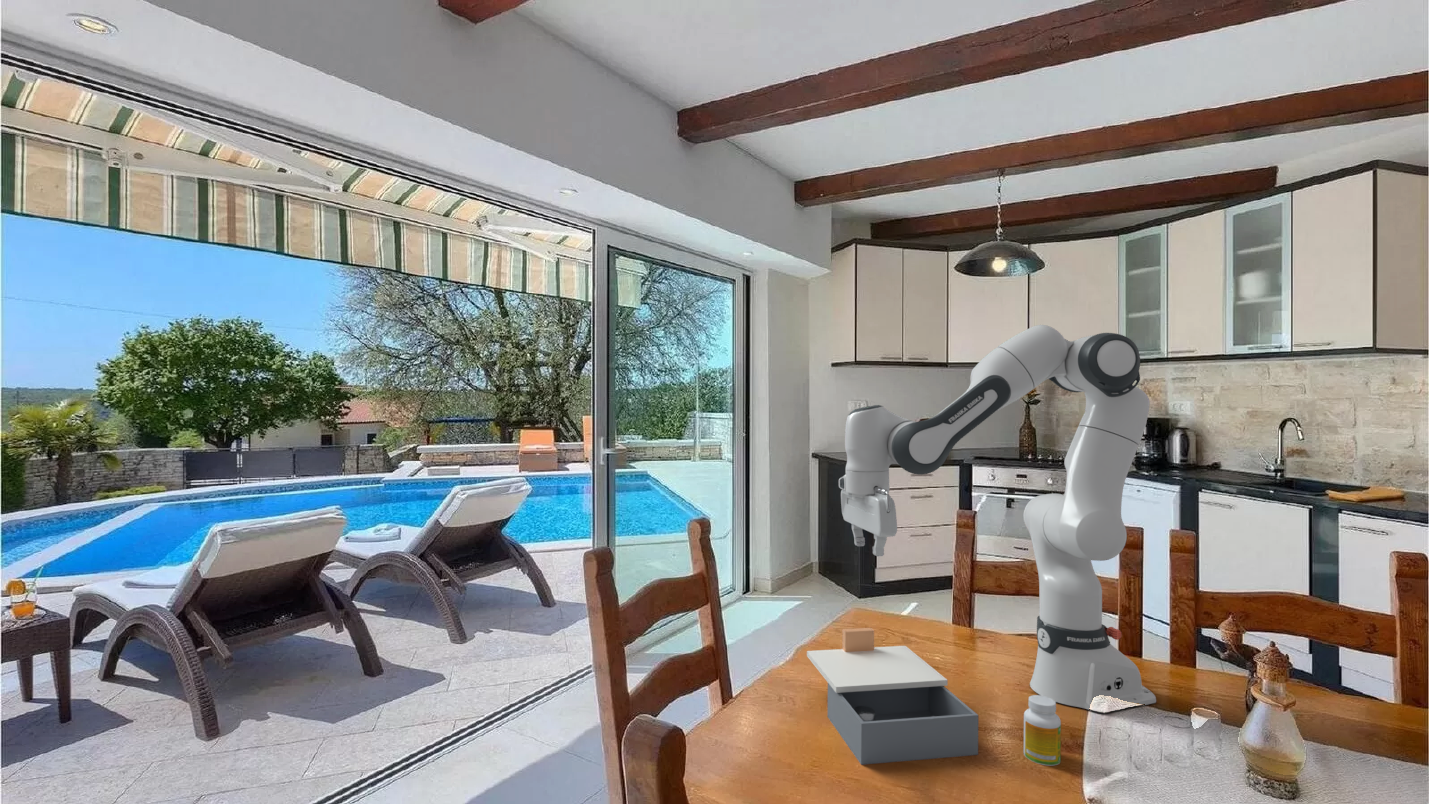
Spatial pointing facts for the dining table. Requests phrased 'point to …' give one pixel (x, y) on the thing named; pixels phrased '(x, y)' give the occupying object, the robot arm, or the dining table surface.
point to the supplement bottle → (1042, 731)
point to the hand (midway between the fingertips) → (868, 550)
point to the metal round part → (865, 713)
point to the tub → (905, 724)
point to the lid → (872, 665)
